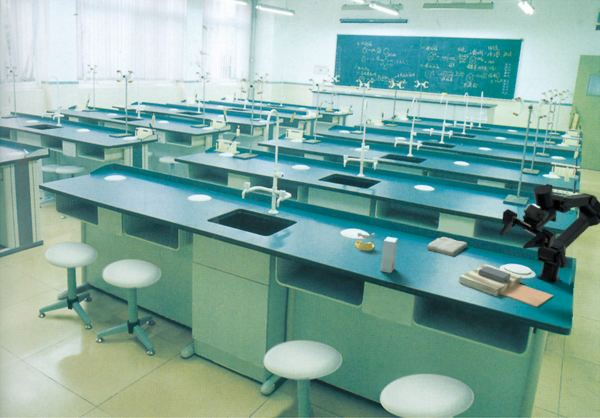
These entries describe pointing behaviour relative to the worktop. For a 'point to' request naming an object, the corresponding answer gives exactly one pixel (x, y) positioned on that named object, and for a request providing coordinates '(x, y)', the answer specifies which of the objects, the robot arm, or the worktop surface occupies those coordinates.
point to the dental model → (365, 246)
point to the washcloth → (446, 246)
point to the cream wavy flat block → (488, 281)
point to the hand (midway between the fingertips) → (511, 240)
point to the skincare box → (388, 254)
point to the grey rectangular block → (494, 274)
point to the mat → (526, 295)
